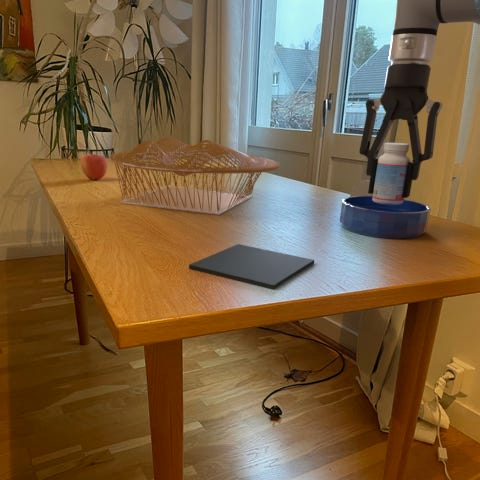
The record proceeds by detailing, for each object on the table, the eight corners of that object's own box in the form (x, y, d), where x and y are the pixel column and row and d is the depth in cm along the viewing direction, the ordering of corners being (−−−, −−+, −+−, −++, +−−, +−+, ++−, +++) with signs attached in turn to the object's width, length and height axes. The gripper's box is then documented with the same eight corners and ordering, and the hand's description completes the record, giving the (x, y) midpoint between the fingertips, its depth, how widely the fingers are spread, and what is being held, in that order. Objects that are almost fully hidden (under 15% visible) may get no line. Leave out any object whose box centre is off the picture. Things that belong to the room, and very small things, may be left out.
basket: (251, 226, 95) (255, 153, 89) (80, 204, 106) (73, 138, 100) (291, 196, 126) (296, 141, 120) (156, 182, 137) (155, 131, 131)
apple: (76, 178, 137) (74, 149, 134) (98, 176, 142) (96, 148, 139) (91, 182, 133) (89, 152, 129) (113, 180, 138) (111, 150, 134)
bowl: (432, 227, 101) (437, 203, 99) (414, 244, 87) (420, 217, 85) (354, 214, 109) (357, 192, 107) (327, 229, 95) (330, 204, 93)
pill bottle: (402, 206, 92) (413, 145, 88) (370, 203, 94) (379, 143, 89) (403, 201, 97) (414, 143, 93) (373, 198, 99) (381, 141, 95)
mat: (314, 263, 75) (314, 259, 74) (273, 289, 64) (273, 285, 63) (237, 247, 81) (238, 243, 81) (188, 268, 70) (188, 264, 70)
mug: (393, 210, 117) (397, 176, 109) (366, 231, 114) (368, 197, 106) (369, 197, 121) (372, 164, 113) (343, 217, 118) (343, 184, 110)
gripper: (351, 62, 87) (336, 191, 96) (463, 61, 78) (434, 203, 88) (364, 65, 93) (348, 187, 102) (469, 65, 84) (442, 198, 94)
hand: (388, 194), depth 95 cm, fingers closed on pill bottle, 6 cm apart
